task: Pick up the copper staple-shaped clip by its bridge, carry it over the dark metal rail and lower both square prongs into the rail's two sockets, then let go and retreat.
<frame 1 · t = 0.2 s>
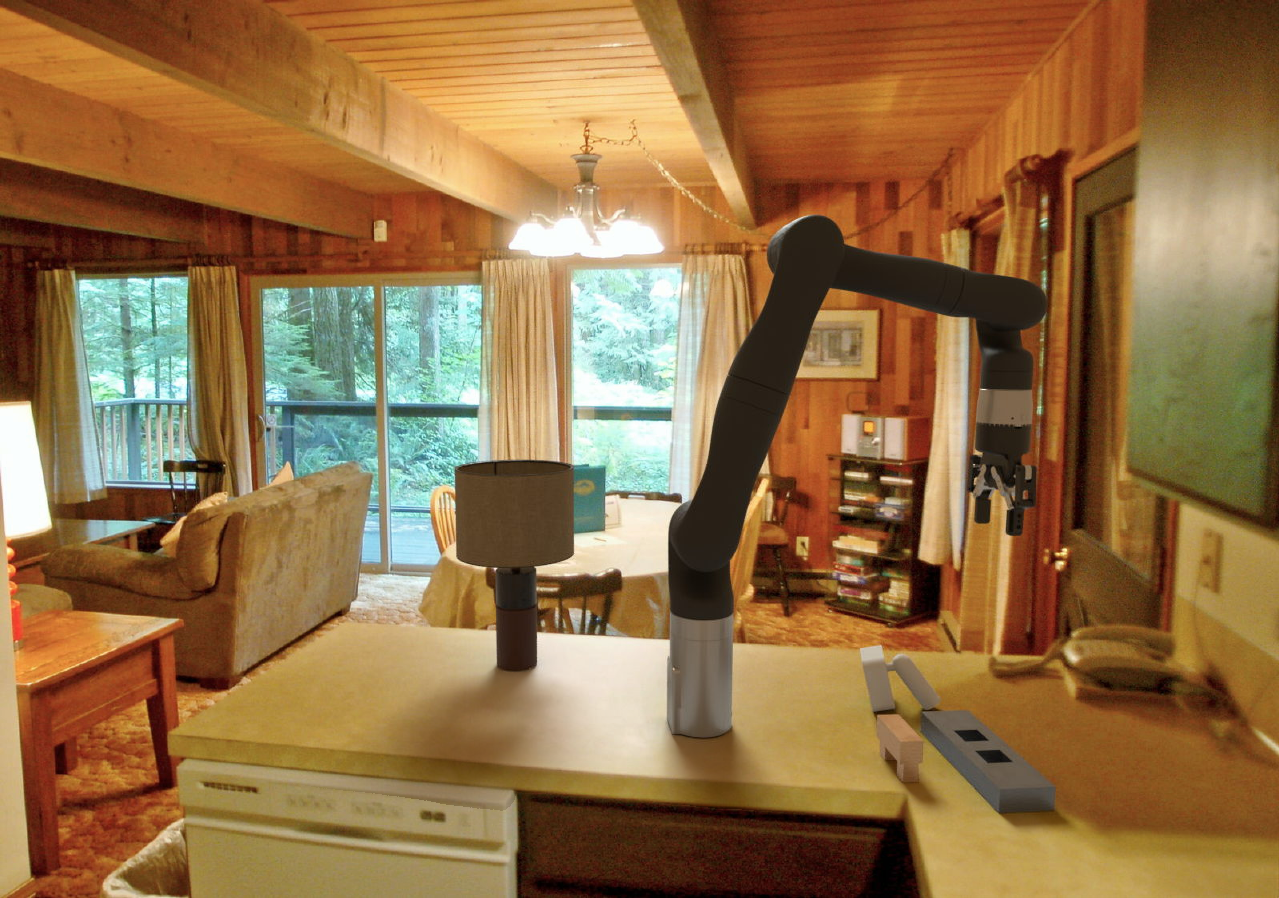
hand: (997, 529, 126), 29 cm above the kitchen counter, fingers open, 8 cm apart
rail: (981, 767, 112), on the kitchen counter
lamp: (517, 664, 149), on the kitchen counter
clip: (897, 766, 112), on the kitchen counter
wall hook: (898, 707, 132), on the kitchen counter
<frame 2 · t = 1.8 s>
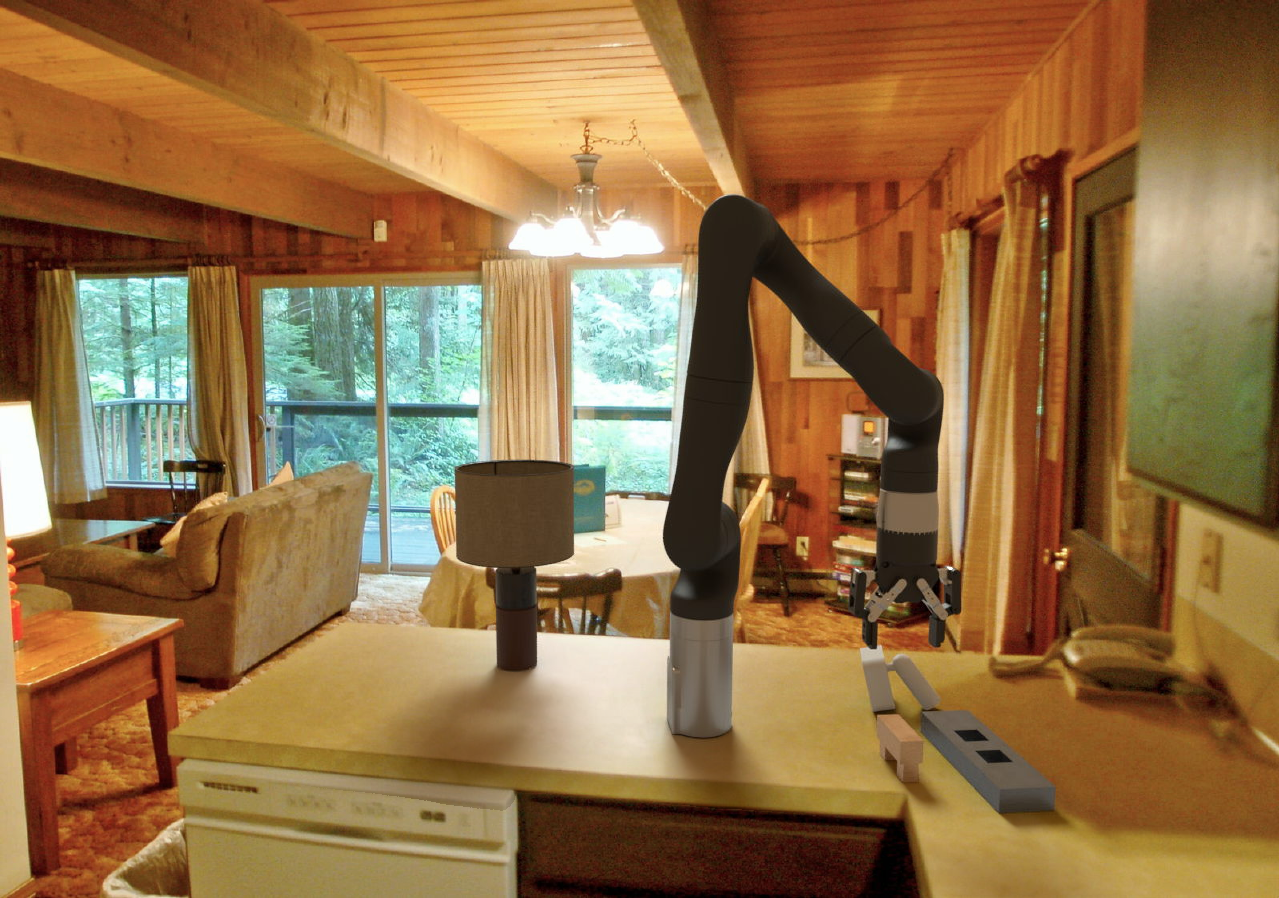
hand: (903, 646, 110), 17 cm above the kitchen counter, fingers open, 8 cm apart
nothing on the kitchen counter moved.
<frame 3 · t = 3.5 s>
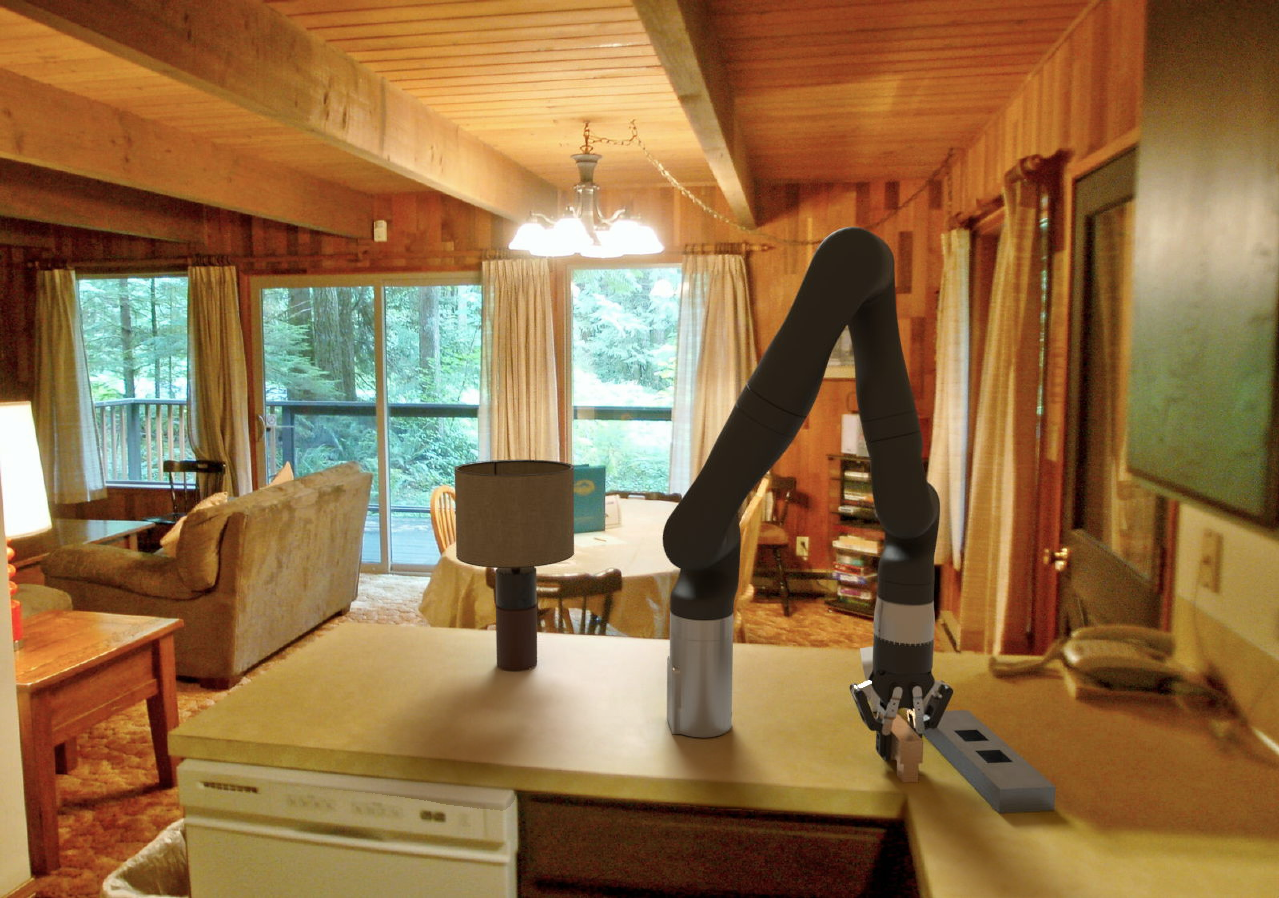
hand: (898, 757, 112), 1 cm above the kitchen counter, fingers closed on clip, 3 cm apart
clip: (897, 766, 112), on the kitchen counter, touching gripper
everything else where it was.
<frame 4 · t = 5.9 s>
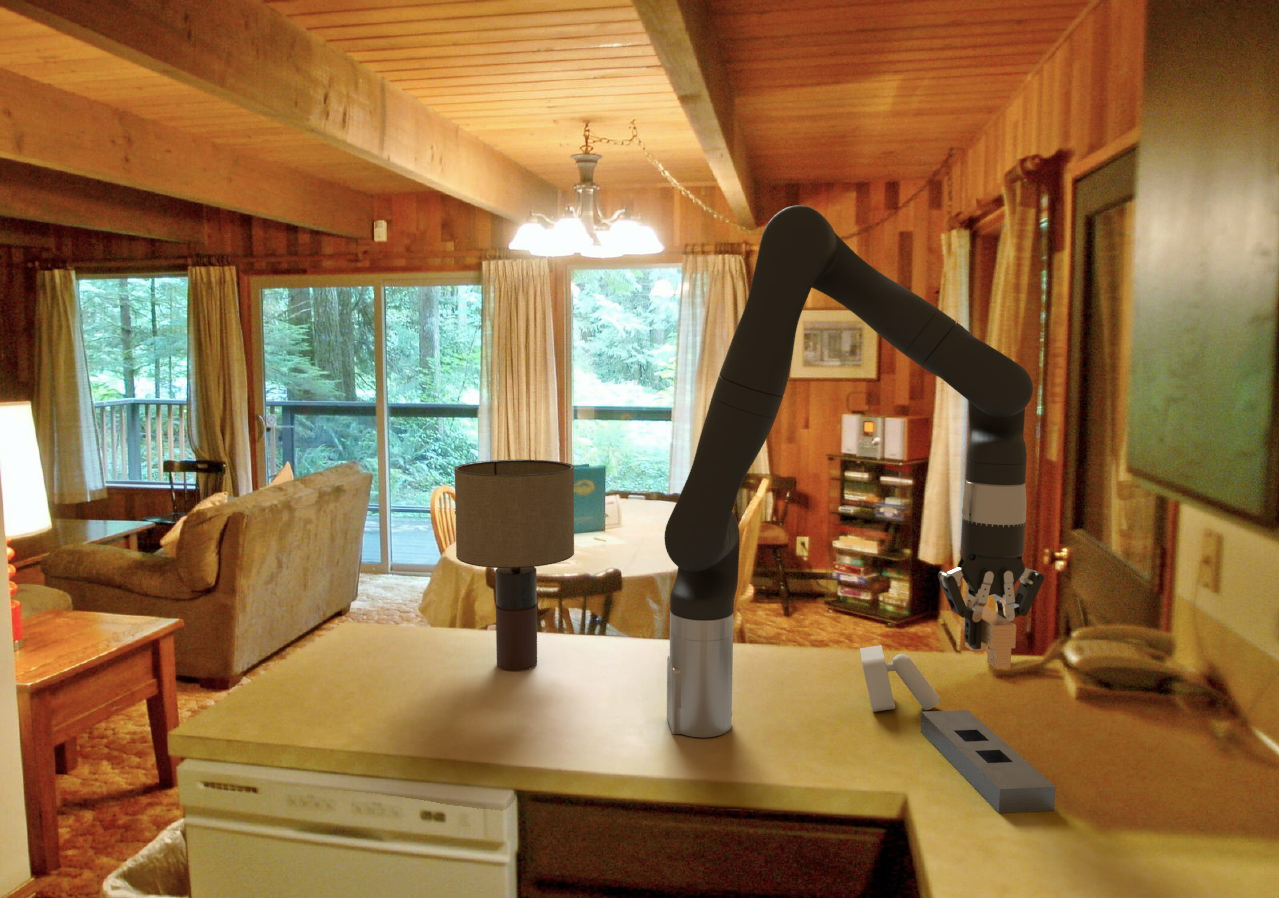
hand: (987, 646, 110), 17 cm above the kitchen counter, fingers closed on clip, 3 cm apart
clip: (986, 656, 110), point 15 cm above the kitchen counter, touching gripper
everything else where it was.
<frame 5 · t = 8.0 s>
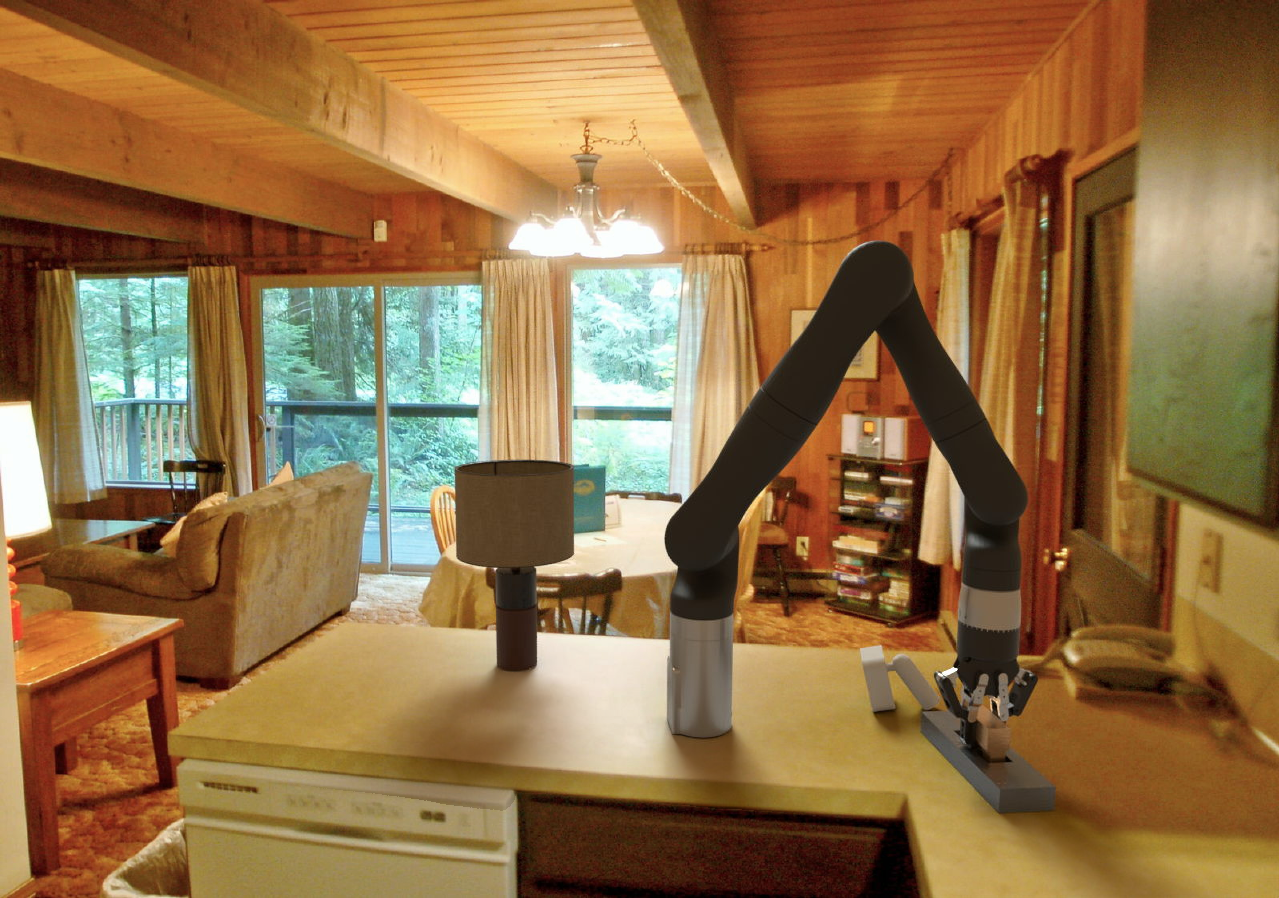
hand: (982, 744, 112), 3 cm above the kitchen counter, fingers closed on clip, 3 cm apart
clip: (981, 754, 112), point 2 cm above the kitchen counter, touching gripper
everything else where it was.
when the fingers open (3 cm above the kitchen counter, at t = 8.2 s): clip drops 1 cm, resting on rail.
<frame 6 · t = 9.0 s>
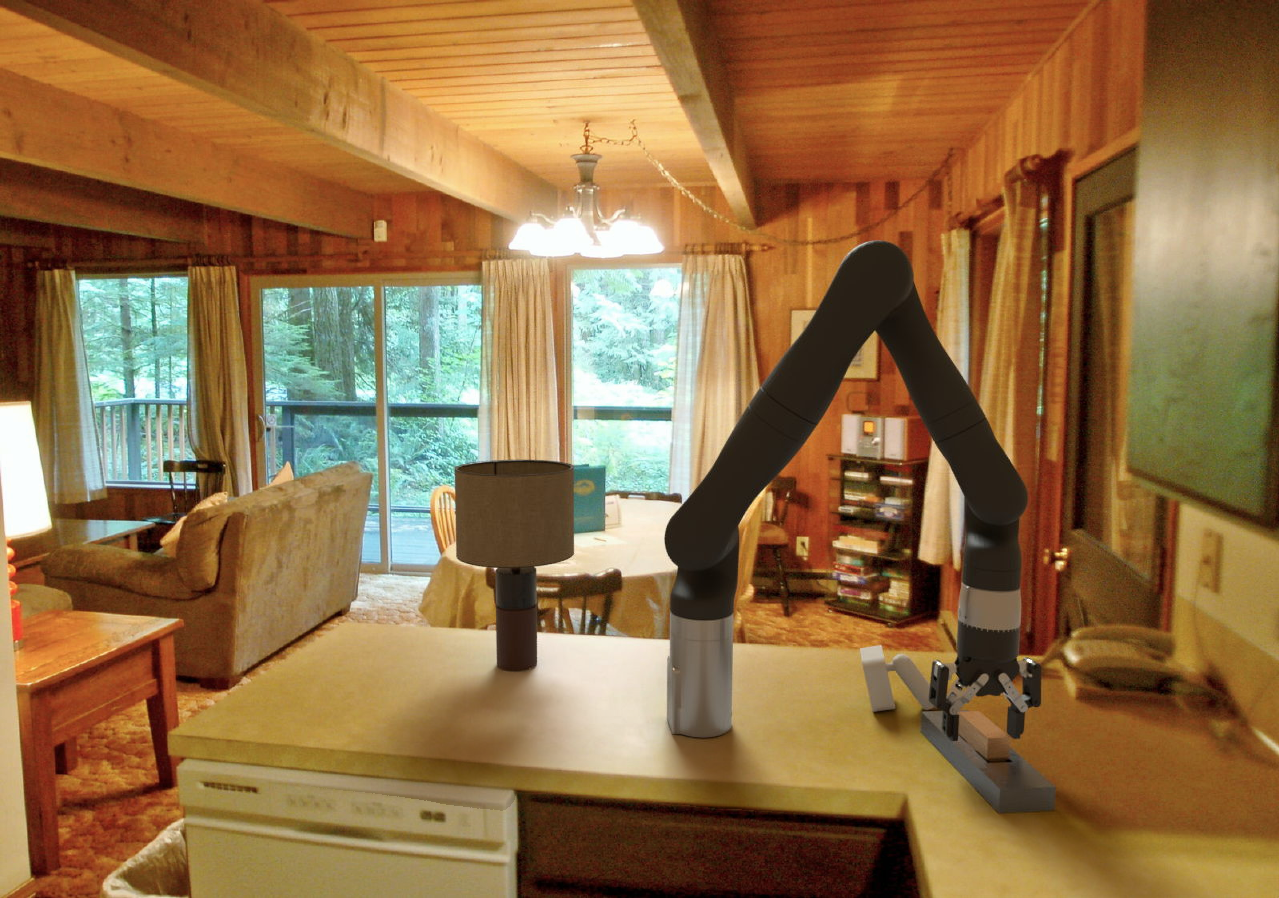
hand: (982, 737, 112), 4 cm above the kitchen counter, fingers open, 8 cm apart
clip: (981, 763, 112), resting on rail
everything else where it was.
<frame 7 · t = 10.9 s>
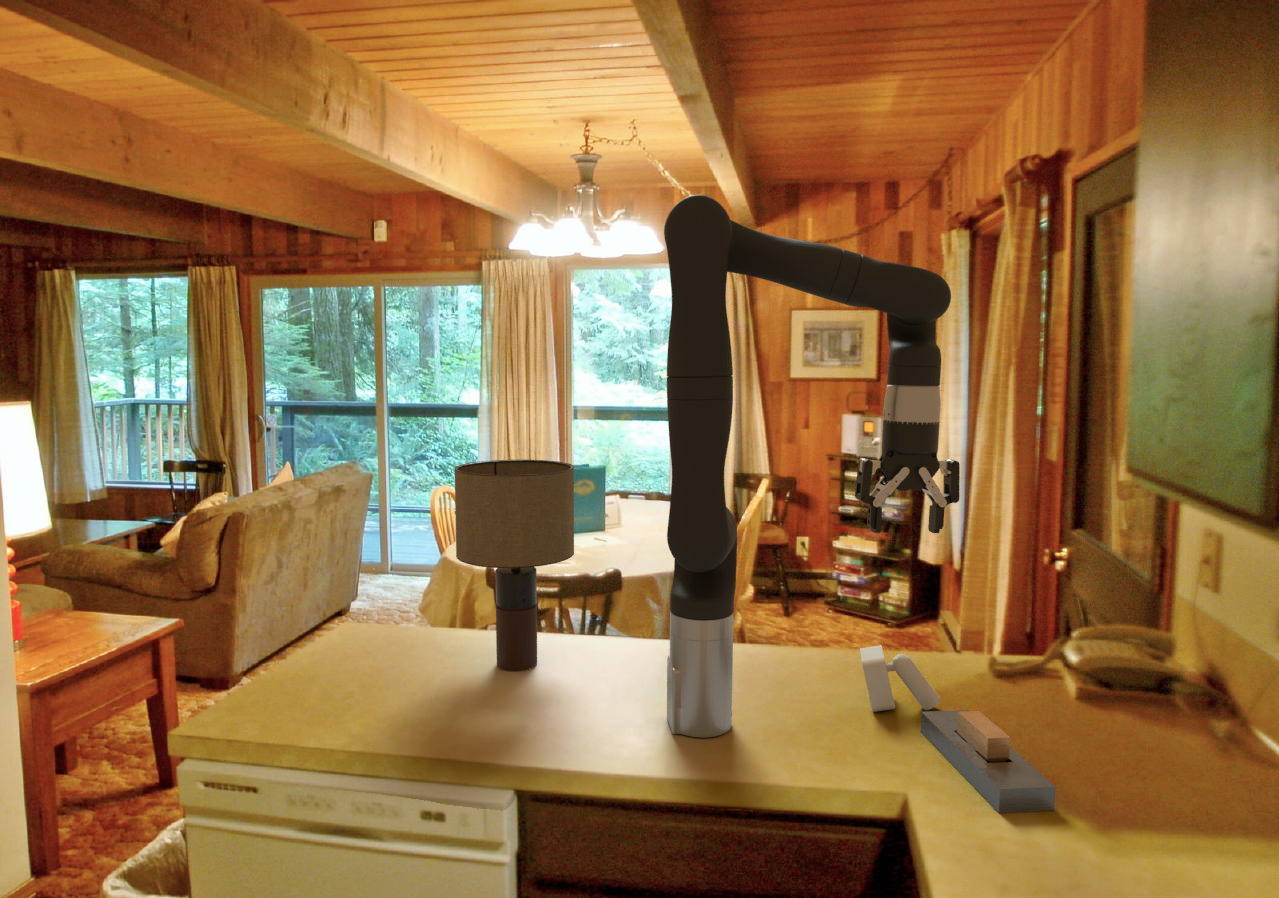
hand: (904, 532, 120), 29 cm above the kitchen counter, fingers open, 8 cm apart
nothing on the kitchen counter moved.
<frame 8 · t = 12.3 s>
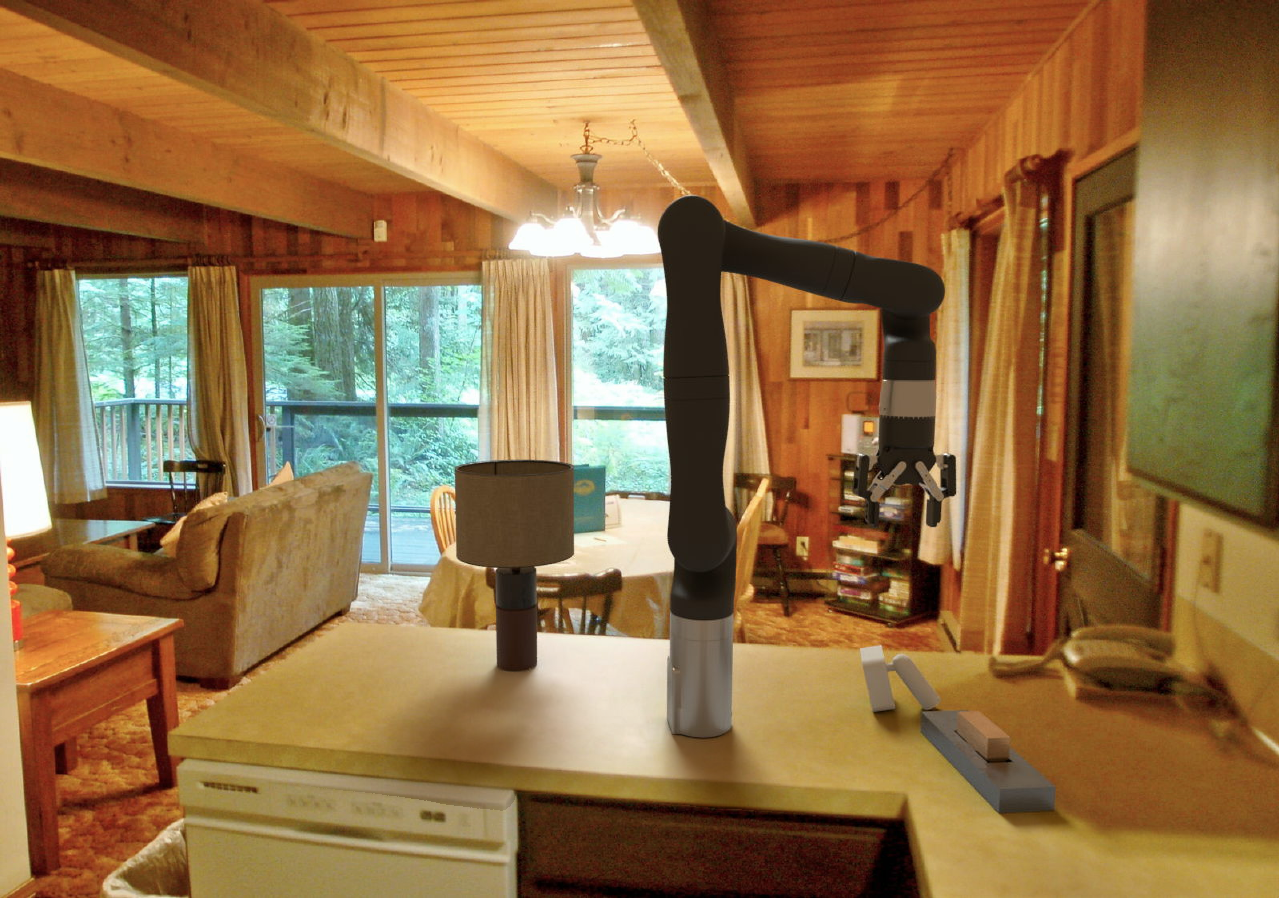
hand: (902, 526, 120), 30 cm above the kitchen counter, fingers open, 8 cm apart
nothing on the kitchen counter moved.
at the end: clip 0.1 cm off-centre on the rail, point 0.5 cm above the rail's base; clip tilted 0°; the gripper is holding nothing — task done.
